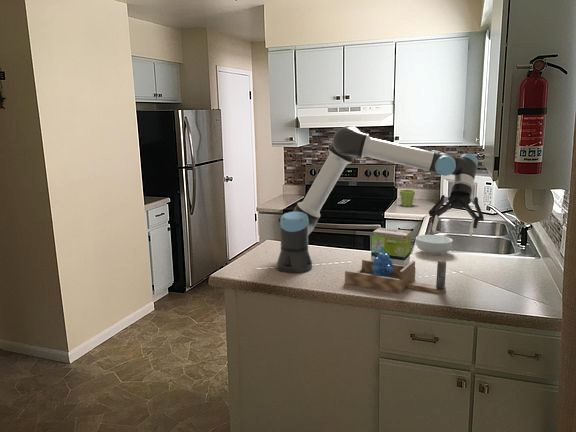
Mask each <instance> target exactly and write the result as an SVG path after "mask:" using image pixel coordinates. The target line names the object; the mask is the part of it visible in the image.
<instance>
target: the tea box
mask: <svg viewBox="0 0 576 432" xmlns="http://www.w3.org/2000/svg"><path fill="white" fill-rule="evenodd" d="M411 241H412V230H404V229H396V228H395V229H394V228H384V227H378V228H376V229H375V230H374V231H372V232H371V247H370V248H371V249H370V252H371V253H370V261H373V260H374V258H376V257H378V254H379V253H383V254H388V255H389V257H390V258H389V259H391V260H392V262H393V264H396V265H402V266H406V265H408V264H409V263H410V262H411V261H410V260H411V244H412V243H411Z"/></svg>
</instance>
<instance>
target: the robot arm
mask: <svg viewBox="0 0 576 432" xmlns="http://www.w3.org/2000/svg"><path fill="white" fill-rule="evenodd" d="M361 131H362V130H360V129H359V128H357V127H356V126H353V125H346V126H344V127H341V128H339V129H338V130H336V132H334V134H333V137H332V141H331V144H330V145H329V148H328V149H327V150H328V156H327V158H326V160H325V162H324V163H323V165H322V167H321V169H320V170H319V171H318V174H317V176H316V177H315V179H314V181H313V182H312V184H311V186H310V188H309V189H308V191H307V192H306V195H305V197H304V198H303V200H302V201H299V202H297V204H296V205H295V207H294V209H293V211H288V212H285V213H284V214H282V215H281V217H280V221H279V224H280V252H279V256H278V258H277V260H276V261H277V262H276V269H277V271H279V272H282V273H288V274H301V273H308V272H310V271H311V270H312V269H313V261H312V258H311V255H310V252H309V235H310V234H311V233H313V231H314V230H315V227H316V225H317V223H318V221H319V219H320V218H321V213H320V212H321V210H322V207H323V206H324V204H325V203H326V201H327V199H328V197H329V195H330V194H331V192H332V191H333V189H334V187H335V186H336V184H337V181H338V180H339V178H340V177H341V175H342V174H343V171H344V170H345V168H346V166H347V165H350V164H352V163H353V161H354V160H355V159H356V158H359V159H360V158H361V159H364V158H365V157H368V158H372V159H375V160H380V161H383V162H388V163H391V164H397V165H401V166H405V167H406V166H407V167H411V168H414V169H418V170H422V171H426V172H427V171H428V172H431V173H435V174H438V175H440V176H443V177H445V176H450V175H452V176H454V179H453V182H452V187H451V191H450V194H449V196H445V195H444V194H442V195H441V196H440V199H439V200H438V201H437V202H436V203H435V204H434V205H433V206H432V207H431V208H430V209H429V211H428V214H429V217H432V218H431V221H430V222H431V224H432V228H431V230H432V233H433V234H436V231H437V226H438V222H439V217H440V216H441V215H443V214H445V213H446V212H448V211H449V210H452V209H460V210H463V209H464V210H465V211H466V212H467V213H468V214H469V215H470V217H471V223H470V227H469V231H468V232H469V238H470V237H471V238H472V237H473V233H474V229H477V228H478V226H479V225H478V224H479V222H484V220H485V219H484V218H485V217H484V214H483V212H482V210H481V207H480V205H479V198H478V196H476V197H474V198H471V196H472V192H473V188H474V183H475V178H476V174H477V171H478V165H479V160H478V158H477V157H476V156H475V155H474V154H472V153H464V154H461V155H460V156H456V155H452V154H449V153H446V152H442V151H440V150H436V149H433V150H431V151H429V150H425V149H422V148H418V147H414V146H413V147H412V146H408V145H403V144H400V143H395V142H391V141H387V140H382V139H378V138H373V137H371V136H370V135H369V133H363V132H361ZM445 203H446V204H445ZM471 203H472V205H474V208H475V211H476V213H475V211H474V210H473V209H472V207H471V206H470V204H471Z"/></svg>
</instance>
